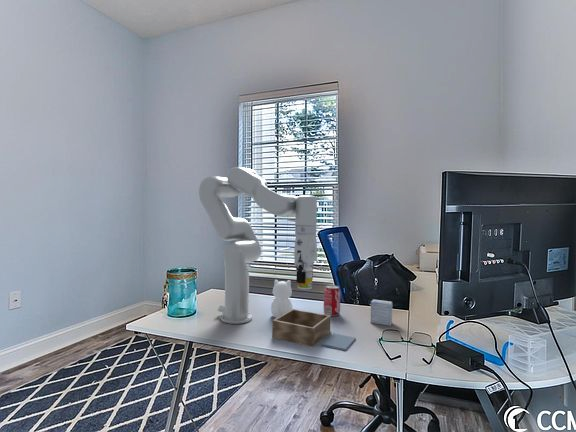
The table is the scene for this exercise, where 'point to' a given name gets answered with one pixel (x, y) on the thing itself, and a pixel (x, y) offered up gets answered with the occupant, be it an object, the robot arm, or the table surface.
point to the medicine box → (381, 312)
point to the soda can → (332, 300)
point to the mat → (339, 341)
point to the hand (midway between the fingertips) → (304, 280)
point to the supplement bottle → (308, 278)
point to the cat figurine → (281, 298)
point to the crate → (301, 327)
